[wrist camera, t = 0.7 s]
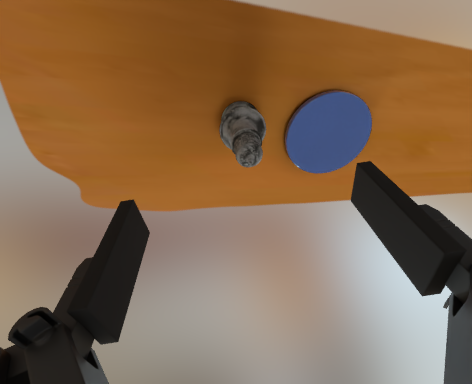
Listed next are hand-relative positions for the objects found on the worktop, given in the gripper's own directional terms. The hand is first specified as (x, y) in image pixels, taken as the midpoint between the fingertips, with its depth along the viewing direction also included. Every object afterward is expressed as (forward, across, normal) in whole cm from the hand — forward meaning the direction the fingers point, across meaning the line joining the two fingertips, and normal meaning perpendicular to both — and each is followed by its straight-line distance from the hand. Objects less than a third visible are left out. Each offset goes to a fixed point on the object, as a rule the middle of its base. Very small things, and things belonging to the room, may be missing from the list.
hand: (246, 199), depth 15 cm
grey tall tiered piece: (+22, +1, -3) cm, 22 cm away
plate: (+21, +13, -7) cm, 26 cm away
